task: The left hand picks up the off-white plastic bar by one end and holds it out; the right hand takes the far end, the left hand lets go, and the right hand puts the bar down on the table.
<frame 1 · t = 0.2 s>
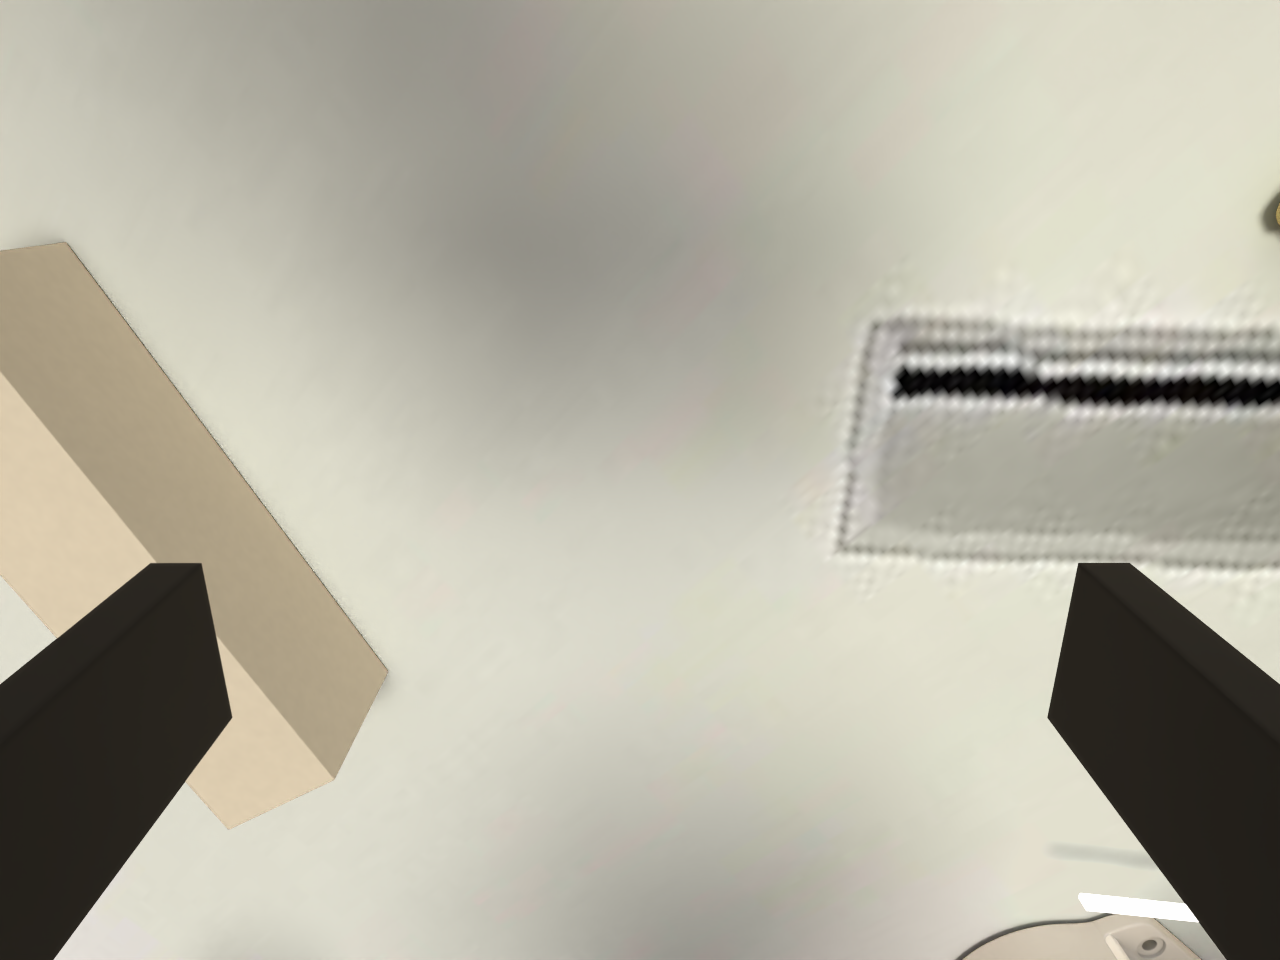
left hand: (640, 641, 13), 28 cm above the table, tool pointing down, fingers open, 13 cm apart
bar: (195, 503, 42), on the table
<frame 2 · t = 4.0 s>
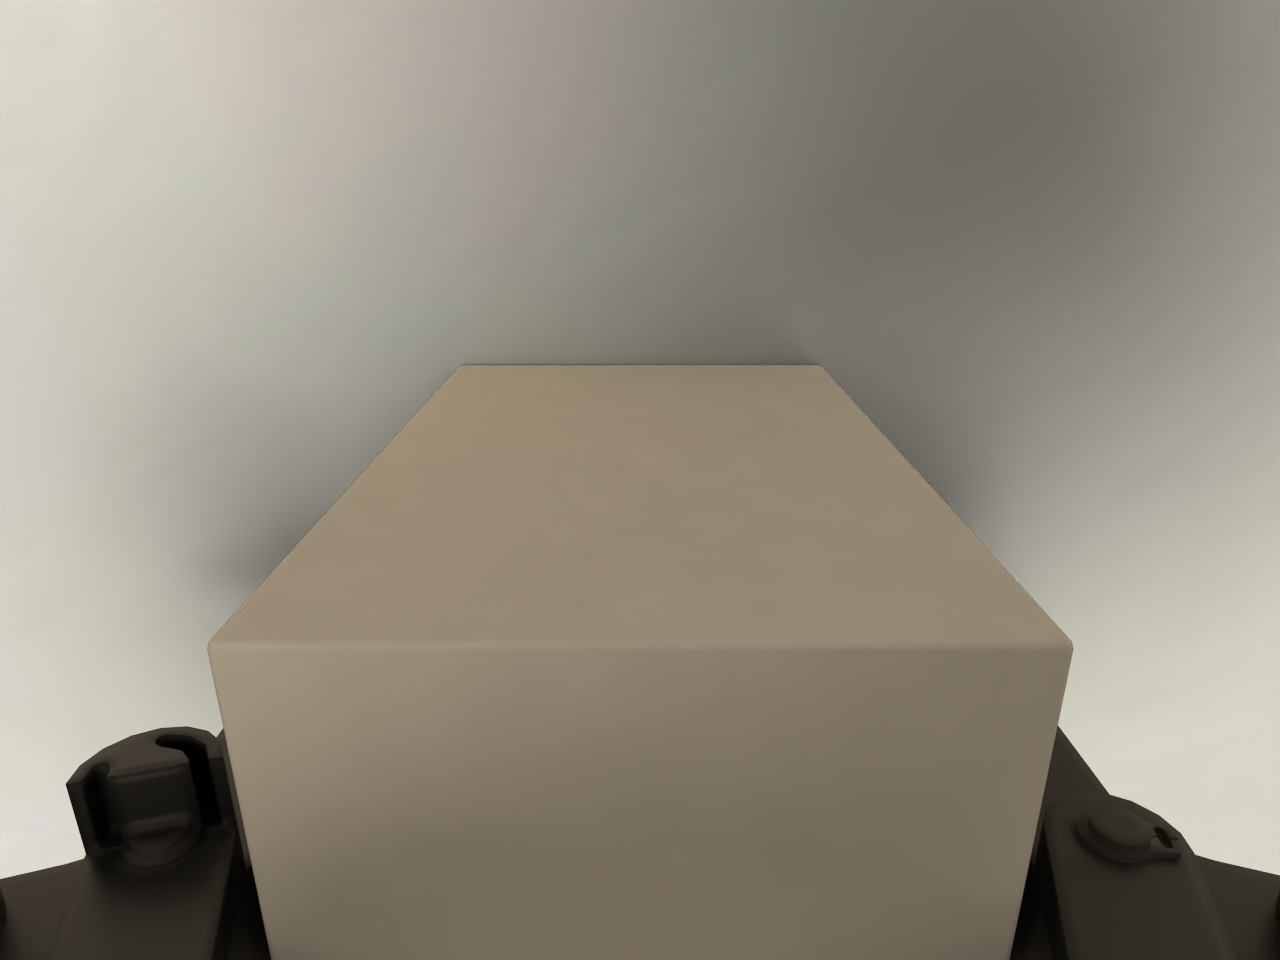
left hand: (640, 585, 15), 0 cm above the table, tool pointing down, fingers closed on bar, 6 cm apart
bar: (640, 946, 18), on the table, touching left hand
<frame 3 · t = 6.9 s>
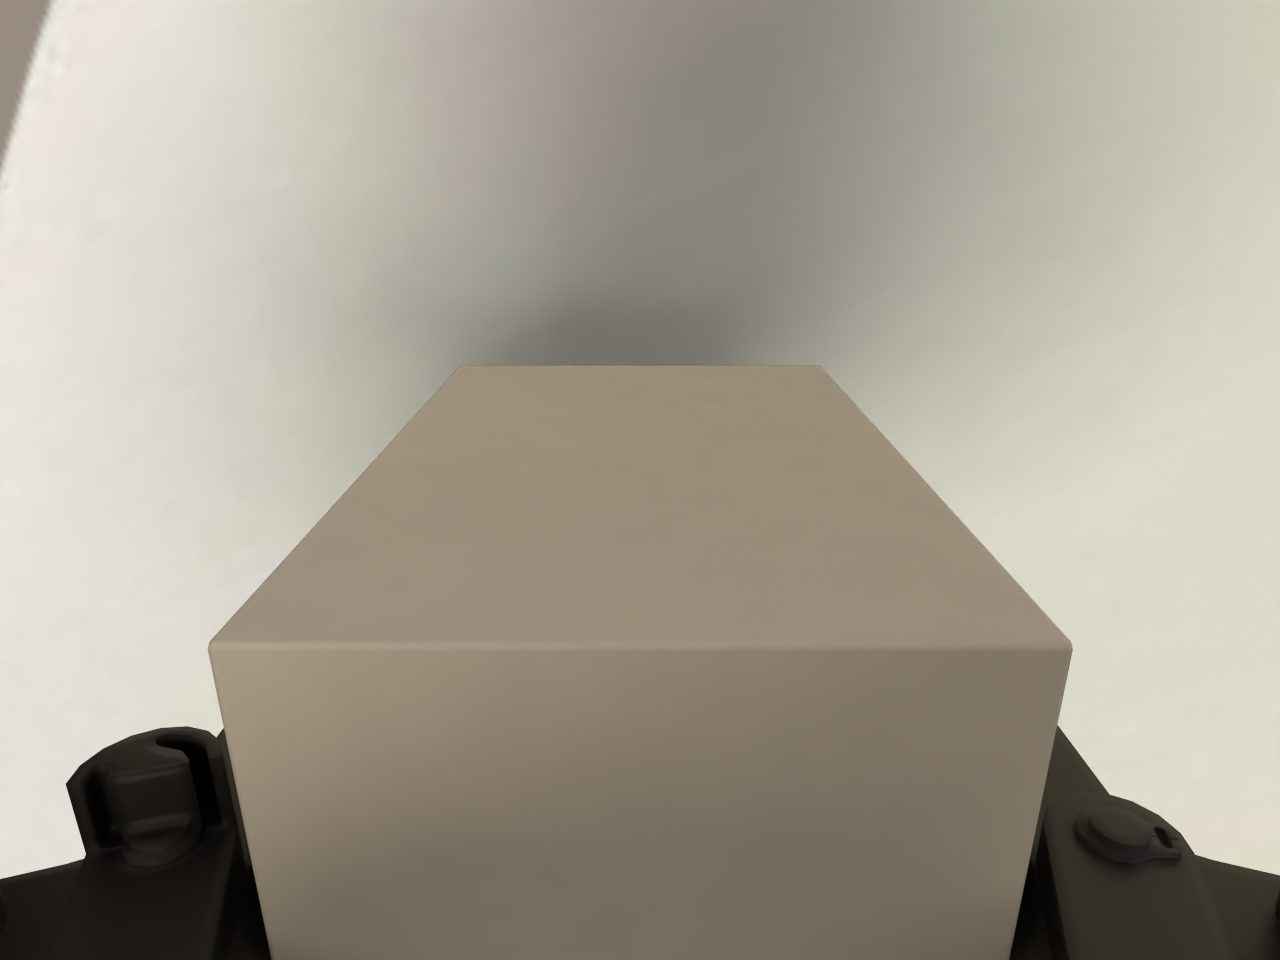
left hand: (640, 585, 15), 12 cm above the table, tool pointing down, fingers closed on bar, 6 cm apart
bar: (640, 946, 18), point 12 cm above the table, touching left hand
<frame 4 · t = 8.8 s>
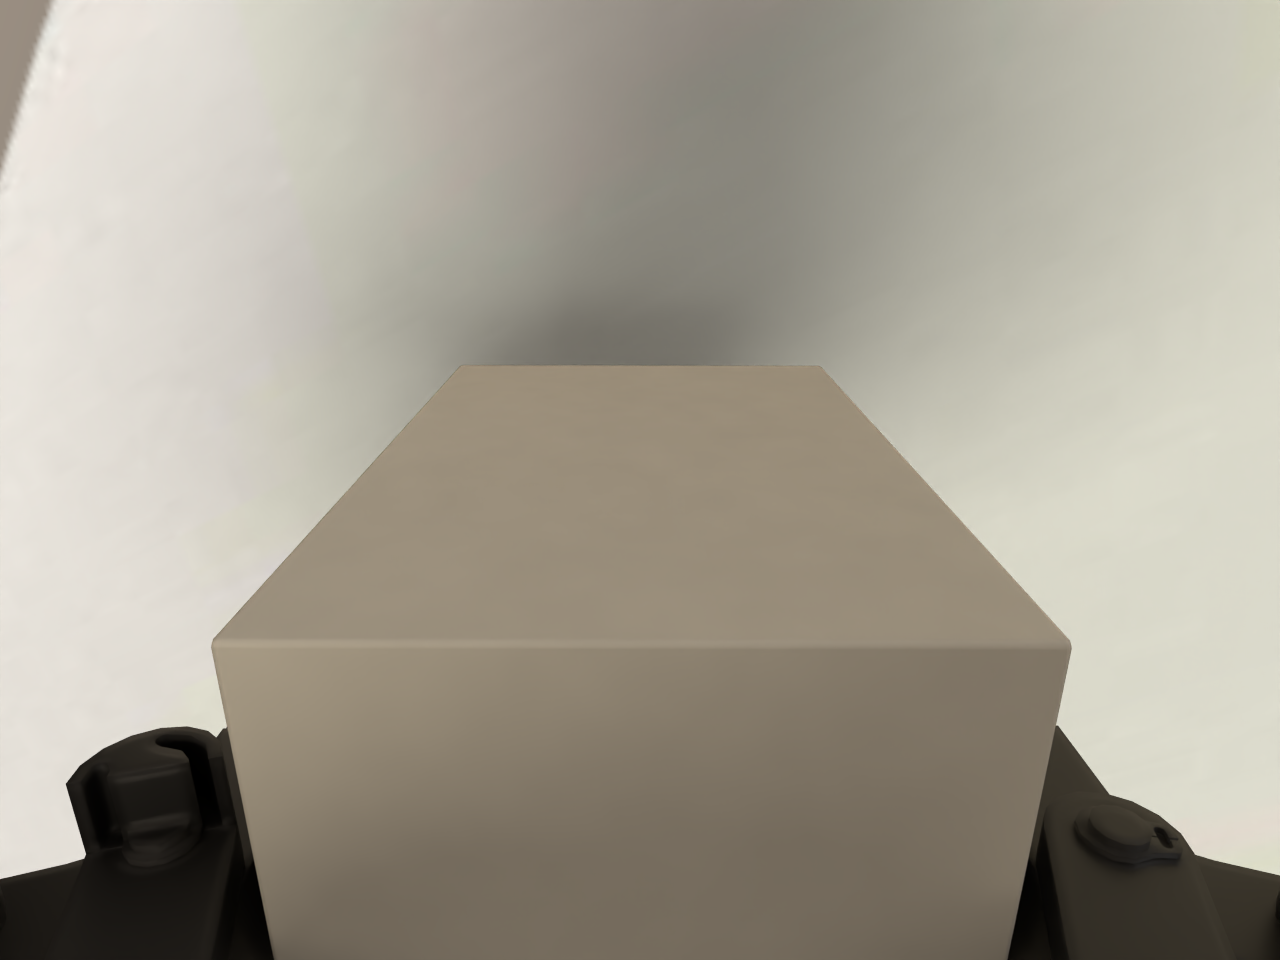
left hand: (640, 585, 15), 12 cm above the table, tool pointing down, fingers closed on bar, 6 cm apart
bar: (639, 945, 18), point 12 cm above the table, touching left hand, right hand
when the left hand's fingers open (12 cm above the table, at t = 9.9 s): bar stays where it is, held by the right hand.
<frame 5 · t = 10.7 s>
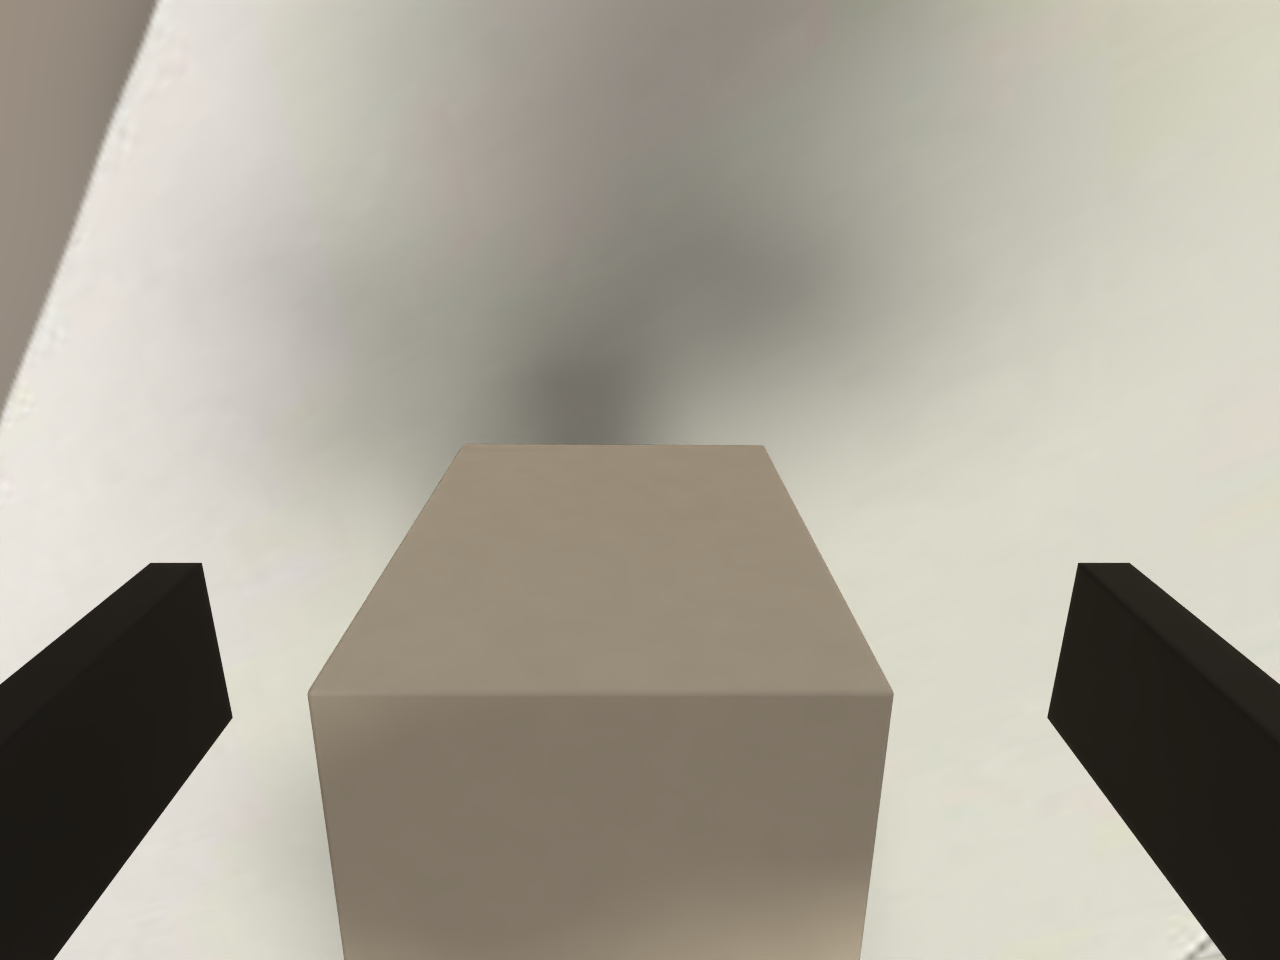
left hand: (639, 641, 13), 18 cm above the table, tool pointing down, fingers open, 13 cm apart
bar: (613, 939, 21), point 14 cm above the table, touching right hand
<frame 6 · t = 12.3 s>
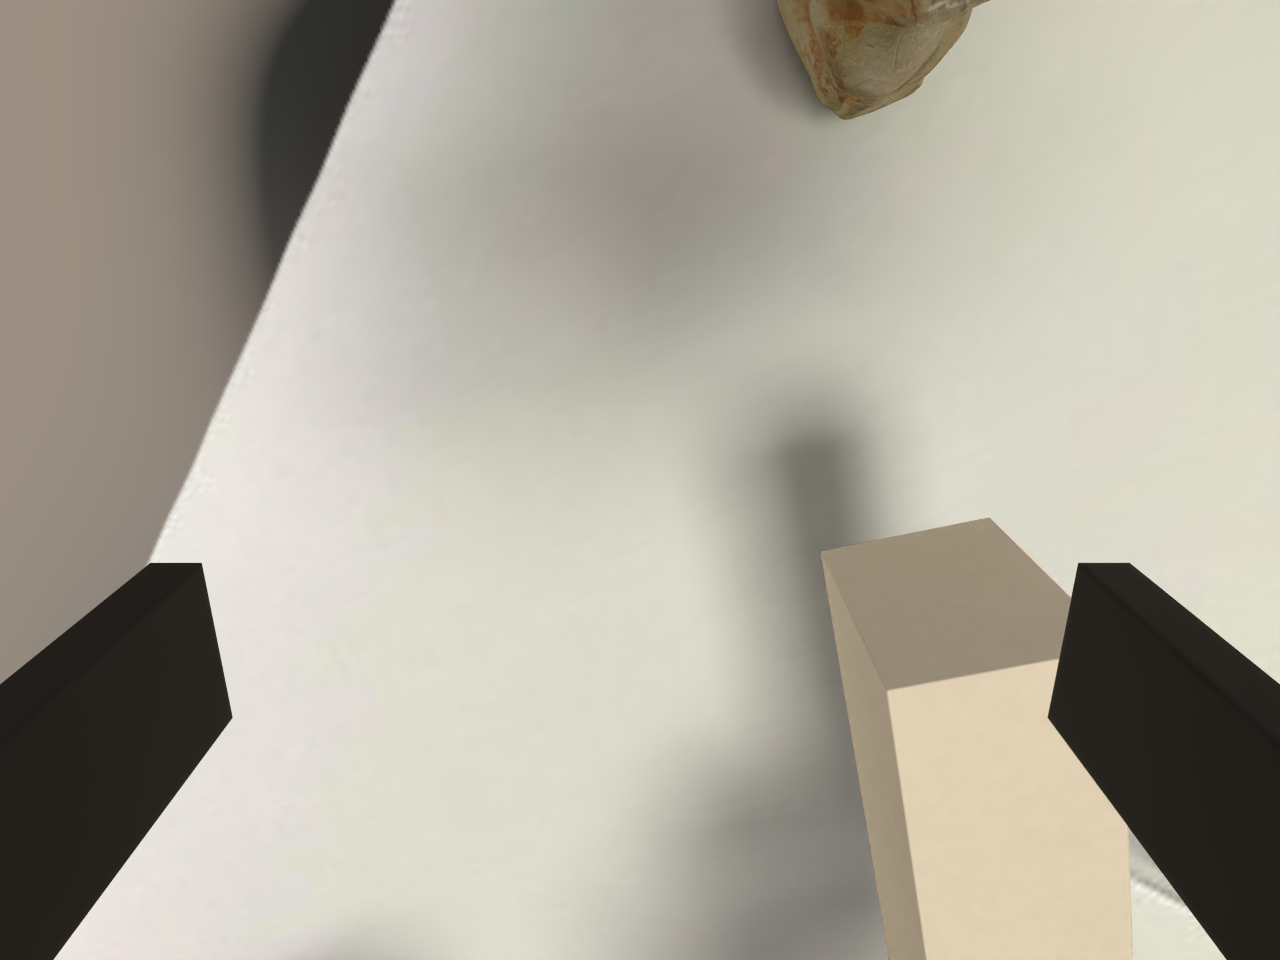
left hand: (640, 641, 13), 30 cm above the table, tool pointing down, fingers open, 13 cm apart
sculpture: (836, 29, 36), on the table
bar: (941, 820, 34), point 14 cm above the table, touching right hand
when the right hand's fingers open (5 cm above the table, at t = 16.0 s): bar stays where it is, on the table.
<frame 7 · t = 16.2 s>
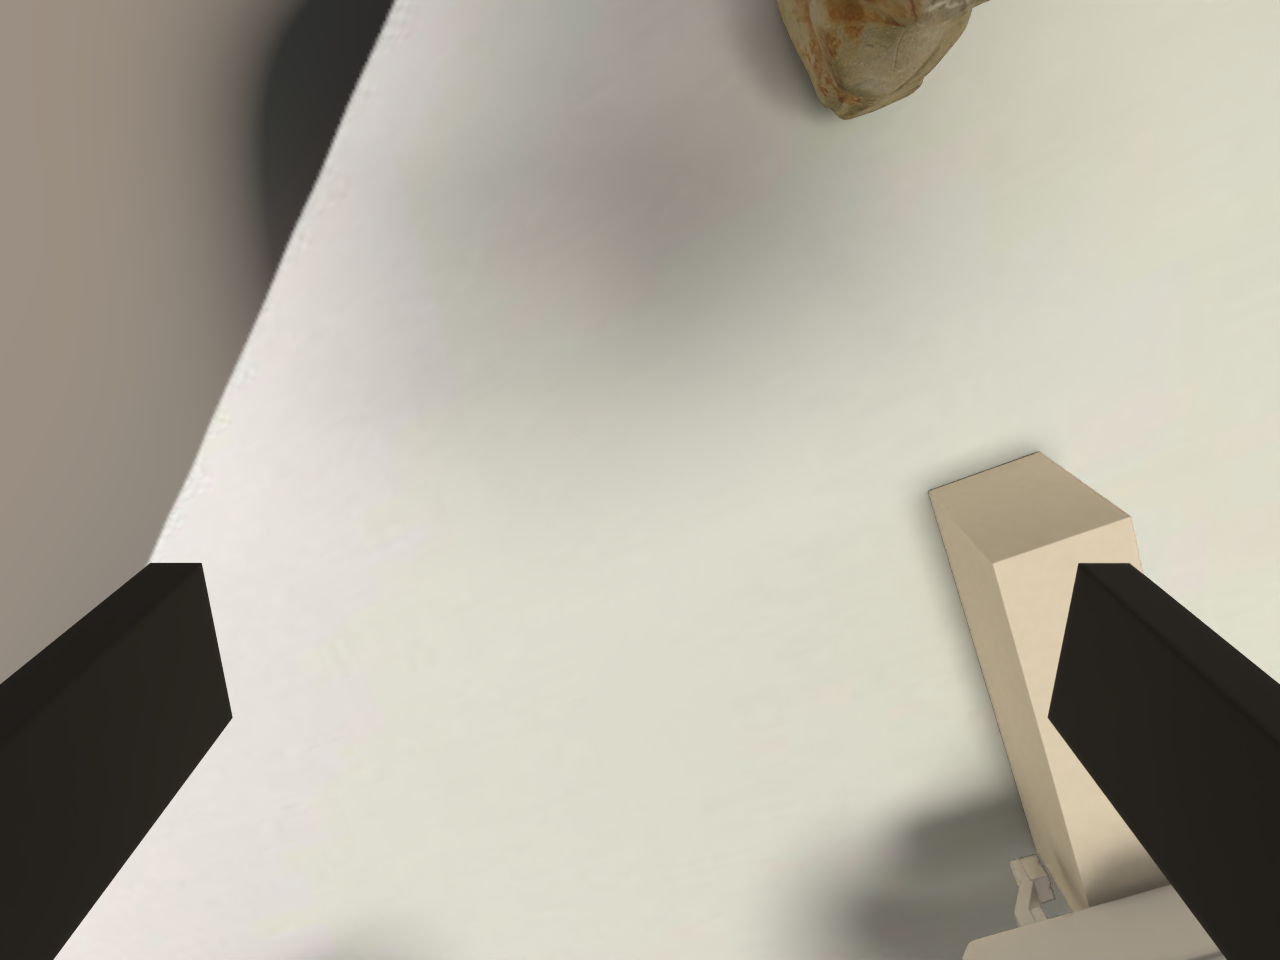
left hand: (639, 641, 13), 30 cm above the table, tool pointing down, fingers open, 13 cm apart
sculpture: (836, 29, 36), on the table
bar: (1037, 668, 48), on the table
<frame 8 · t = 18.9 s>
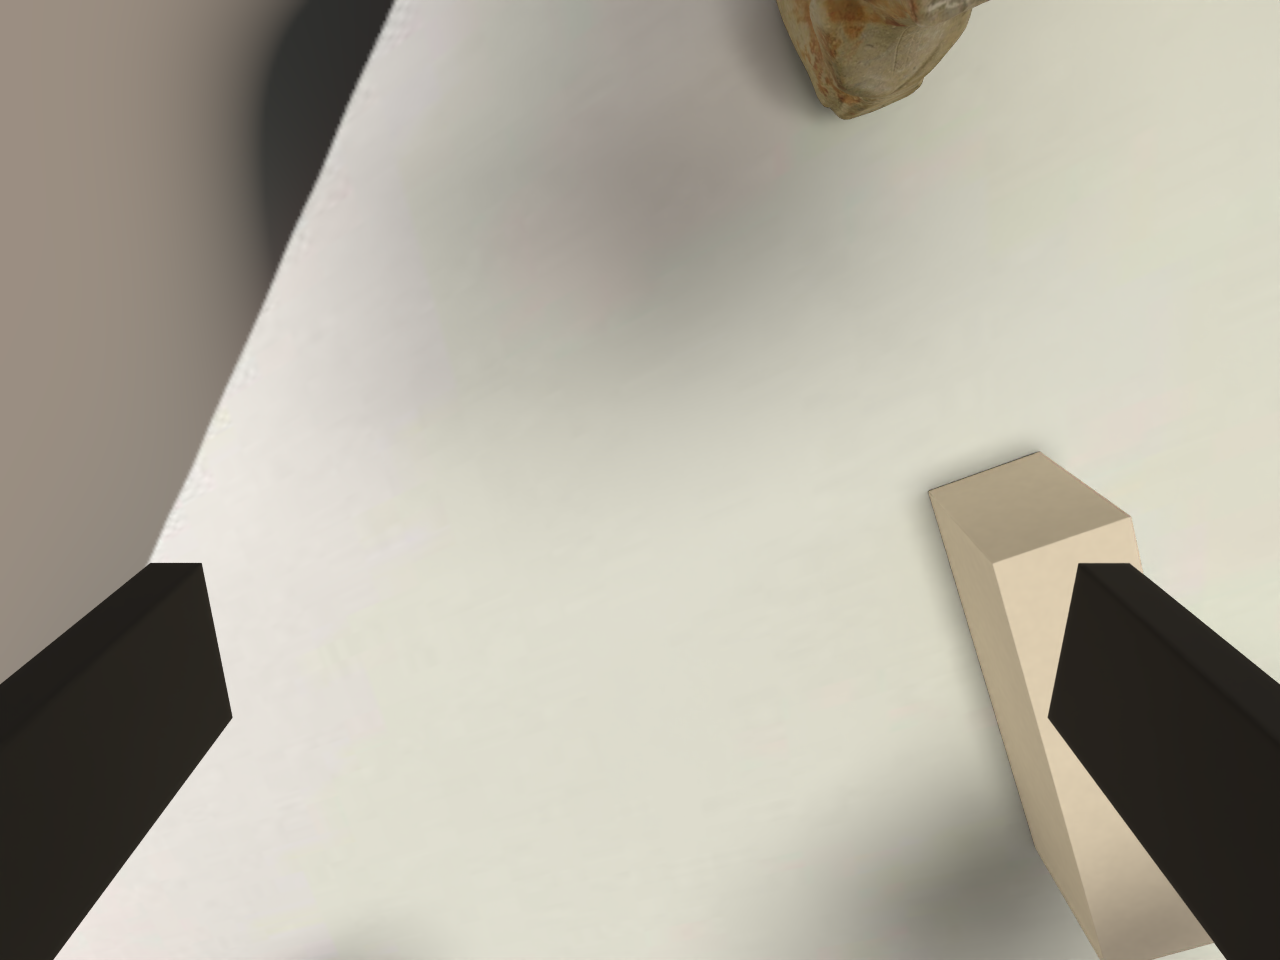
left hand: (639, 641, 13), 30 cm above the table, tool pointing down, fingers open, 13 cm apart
sculpture: (836, 29, 36), on the table
bar: (1037, 668, 48), on the table
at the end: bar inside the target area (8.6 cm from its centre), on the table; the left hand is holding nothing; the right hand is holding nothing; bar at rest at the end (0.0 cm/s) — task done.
